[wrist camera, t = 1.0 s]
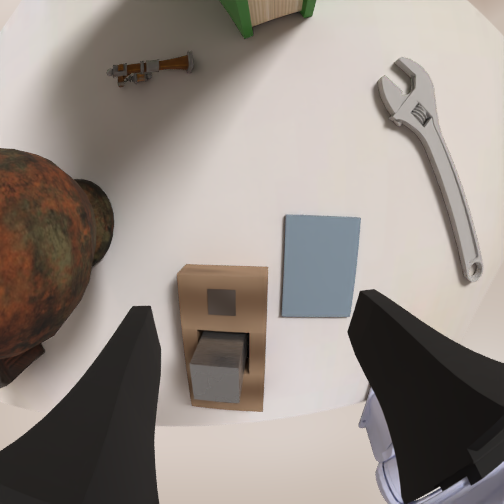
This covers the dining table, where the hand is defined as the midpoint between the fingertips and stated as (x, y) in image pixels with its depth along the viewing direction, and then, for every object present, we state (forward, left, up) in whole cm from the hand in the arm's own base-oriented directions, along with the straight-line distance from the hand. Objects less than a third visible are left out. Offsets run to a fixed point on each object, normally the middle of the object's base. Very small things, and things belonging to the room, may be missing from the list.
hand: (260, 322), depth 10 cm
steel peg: (-12, +4, -18) cm, 22 cm away
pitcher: (-1, +23, -18) cm, 29 cm away
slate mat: (-4, -5, -18) cm, 19 cm away
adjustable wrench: (+6, -17, -19) cm, 26 cm away
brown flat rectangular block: (-12, +4, -18) cm, 22 cm away
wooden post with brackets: (+15, +11, -18) cm, 26 cm away
